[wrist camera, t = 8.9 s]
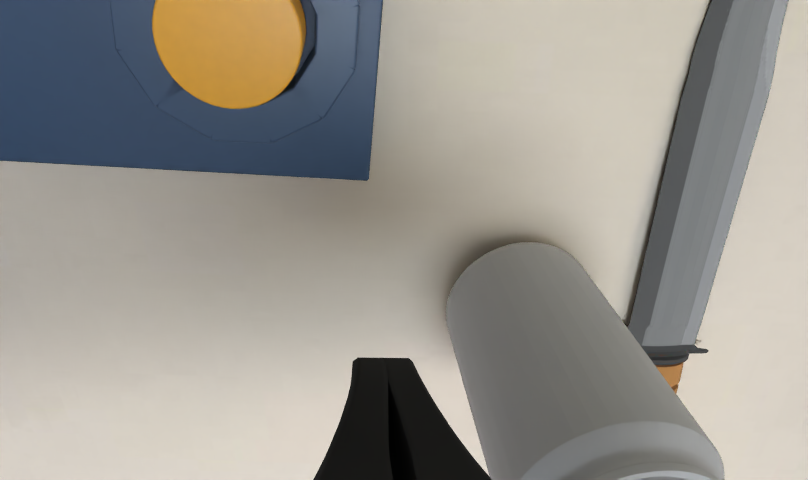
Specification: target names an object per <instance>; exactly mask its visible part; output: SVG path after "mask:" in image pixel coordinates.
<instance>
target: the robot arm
mask: <svg viewBox="0 0 808 480" xmlns="http://www.w3.org/2000/svg"><path fill="white" fill-rule="evenodd" d="M314 480H492V479H491V478H490V477H489V476H488V475H487V473H486V472H485V471H484V470H483V469H482V468H481V466H480V465H479V464H478V463H477V462H476V460H475V459H474V458H473V457H472V455H471V454H470V453H469V452H468V450H467V449H466V448H465V446H464V445H463V444H462V442H461V441H460V440H459V438H458V437H457V436H456V434H455V433H454V431H453V430H452V428H451V427H450V426H449V424H448V422H447V421H446V419H445V418H444V416H443V415H442V413H441V412H440V410H439V409H438V407H437V406H436V404H435V402H434V401H433V399H432V397H431V396H430V394H429V392H428V390H427V389H426V387H425V385H424V383H423V382H422V380H421V378H420V376H419V374H418V372H417V370H416V368H415V366H414V364H413V362H412V361H411V360H410V359H409V358H357V359H355V360H354V361H353V365H352V378H351V386H350V390H349V394H348V398H347V401H346V404H345V407H344V411H343V414H342V417H341V420H340V422H339V425H338V428H337V430H336V432H335V435H334V437H333V440H332V442H331V444H330V447H329V449H328V451H327V454H326V456H325V458H324V460H323V462H322V464H321V466H320V468H319V470H318V472H317V474H316V476H315V478H314Z"/></svg>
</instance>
